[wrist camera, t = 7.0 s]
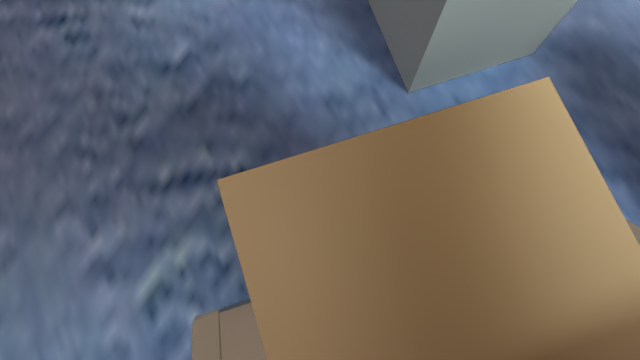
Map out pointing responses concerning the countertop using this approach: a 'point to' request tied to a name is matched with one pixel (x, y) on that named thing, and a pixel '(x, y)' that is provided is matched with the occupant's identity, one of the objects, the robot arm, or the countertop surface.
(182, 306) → the countertop surface
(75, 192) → the countertop surface
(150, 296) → the countertop surface
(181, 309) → the countertop surface
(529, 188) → the maple block
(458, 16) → the grey box
